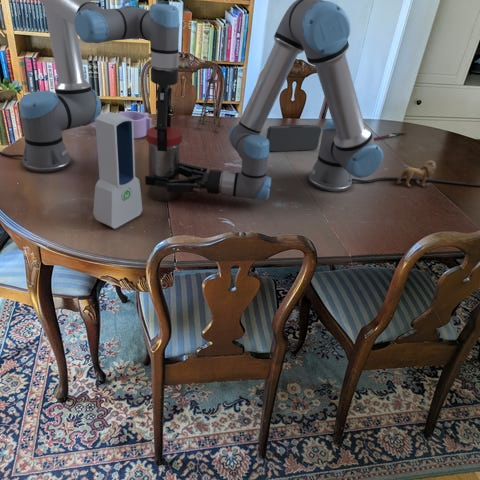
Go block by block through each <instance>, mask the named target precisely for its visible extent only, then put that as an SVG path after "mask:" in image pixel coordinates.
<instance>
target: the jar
mask: <svg viewBox="0 0 480 480" xmlns="http://www.w3.org/2000/svg"><path fill="white" fill-rule="evenodd" d="M180 149H181V143H180V144H178V145H175V146H169V147H167V151H157V146H156V145H153V144H150V143H149V142H148V176H153V177H160V178H168V179H169V180H174V179H180V174H179V162H180V157H181V156H180V153H181V152H180ZM148 194H149V195H148V196H149V197H150V198H151V199H153V200H155V201H159V202H170V201H174V200H176V199H178V197H179V195H180V192H167V189H166V187H159V186H152V185H148Z"/></svg>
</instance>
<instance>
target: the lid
mask: <svg viewBox="0 0 480 480" xmlns="http://www.w3.org/2000/svg"><path fill="white" fill-rule="evenodd" d="M155 127H156V126H152V128H150V129H148V130H147V132H146V134H147V135H146V142H147V143H148V144H149V143H150V144H153V145H156V146H157V130H156V129H155ZM182 142H183V132H182V130H180V129H178V128H175V127H172V126H171V127H167V147H169V146H175V145H178V144H180V145H181V143H182Z"/></svg>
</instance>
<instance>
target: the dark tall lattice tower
mask: <svg viewBox="0 0 480 480" xmlns="http://www.w3.org/2000/svg"><path fill="white" fill-rule="evenodd" d="M217 59H218V56H215V59H214V61H213V62H212V63H213V65H209V63H204V62H202V63H201V64H202V65H201V66H202V67H201V69H202V70H209V69H211V72H210V78H207V80H205V82H206V83H208V86H207V87H206V88H207V89H206V93H205V97H204V100H203V103H202V108H201V113H200V114H199V115H200V117H199V119H198V124H197V128H196V129H197V130H199V129H200V126H201V123H202V124H204V123H208V124H213V126H214V127H213V128H214V132H215V133H216V132H217V123H218V127H221V120H220V119H221V117H220V111H219V106H218V105H219V104H218V95H217V89H216V88H217V86H216V83H217V84H218V82H219V81H220V79H216V78H217V73H218V66H219V64H218V60H217ZM210 90H212V94H210ZM211 97H212V98H211ZM208 100H212V102H213V103H212V104H208V102H209V101H208ZM207 106H208V107H213V108H212V109H211V108H207ZM207 111H213V116H212V115H206V112H207ZM216 114H217V116H216ZM206 117H207V118H213V121H208V120H205V118H206ZM216 119H217V120H216Z"/></svg>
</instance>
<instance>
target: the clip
mask: <svg viewBox="0 0 480 480" xmlns="http://www.w3.org/2000/svg"><path fill="white" fill-rule="evenodd" d="M115 113H116V114H119V115H122V116H125V117H128V118H131V119H133V125H134V139H140V138H144V137H147V134H146V132H147V130H148V129H150V128H153V126H152V118H151V117H150V113H149V112H142V111H138V110H137V111H135V110H124V111H119V112H115ZM101 114H102V113H101ZM101 114H100V115H101Z"/></svg>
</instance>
